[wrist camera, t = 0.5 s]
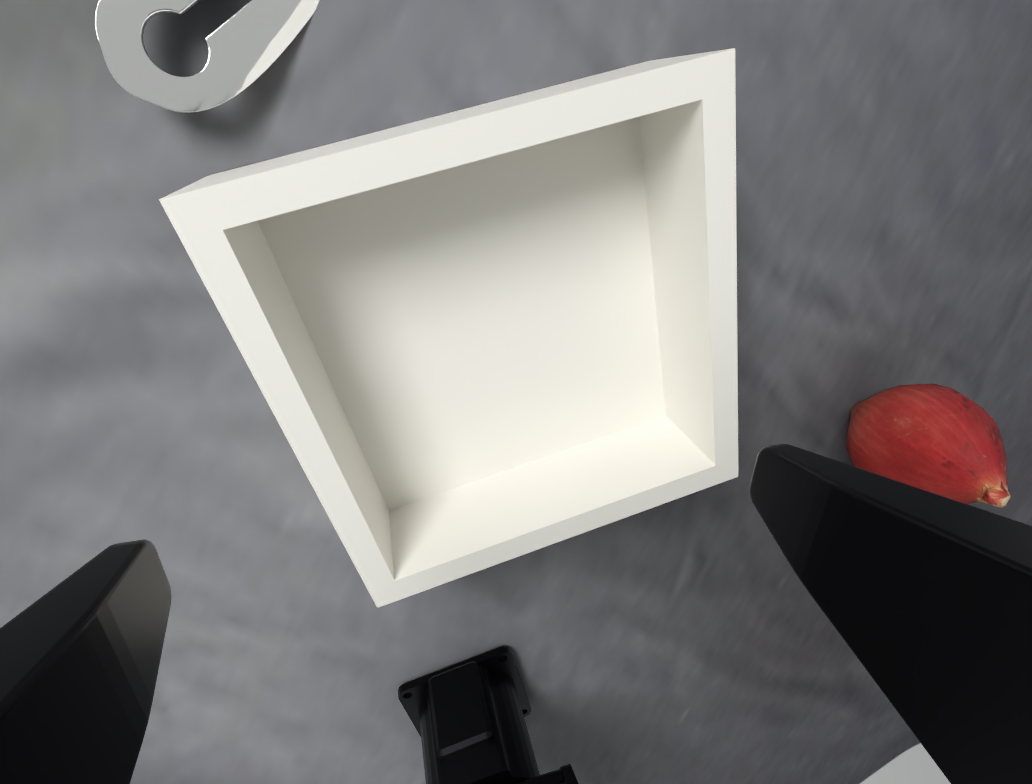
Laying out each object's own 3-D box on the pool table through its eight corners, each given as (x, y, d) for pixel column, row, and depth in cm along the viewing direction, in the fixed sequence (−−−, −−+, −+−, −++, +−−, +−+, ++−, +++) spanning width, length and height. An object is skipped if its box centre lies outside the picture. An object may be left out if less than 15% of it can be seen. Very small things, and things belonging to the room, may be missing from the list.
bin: (676, 416, 26) (738, 476, 22) (373, 520, 25) (377, 607, 20) (648, 60, 19) (735, 47, 14) (208, 175, 17) (159, 199, 13)
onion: (893, 336, 28) (1071, 413, 21) (913, 410, 31) (1074, 498, 24) (797, 405, 28) (939, 502, 21) (825, 470, 31) (959, 574, 24)
